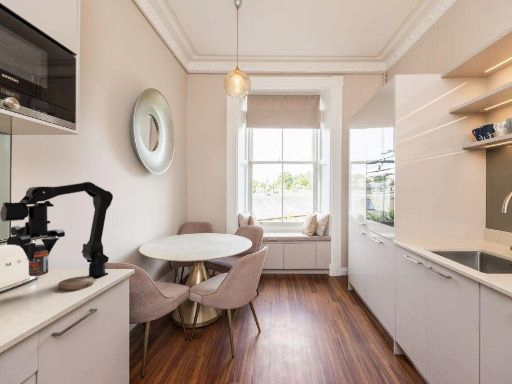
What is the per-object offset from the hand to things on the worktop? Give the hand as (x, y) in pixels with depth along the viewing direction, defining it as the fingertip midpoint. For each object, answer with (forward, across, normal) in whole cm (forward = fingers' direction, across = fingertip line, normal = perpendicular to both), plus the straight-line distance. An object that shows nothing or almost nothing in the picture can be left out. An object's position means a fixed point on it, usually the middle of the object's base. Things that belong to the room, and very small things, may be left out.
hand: (38, 258), depth 103 cm
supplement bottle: (+6, 0, 0) cm, 6 cm away
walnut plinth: (+13, -8, +9) cm, 18 cm away
